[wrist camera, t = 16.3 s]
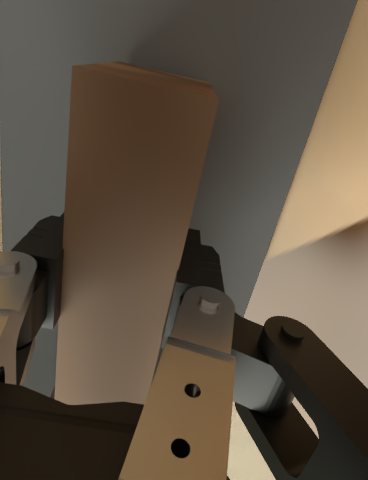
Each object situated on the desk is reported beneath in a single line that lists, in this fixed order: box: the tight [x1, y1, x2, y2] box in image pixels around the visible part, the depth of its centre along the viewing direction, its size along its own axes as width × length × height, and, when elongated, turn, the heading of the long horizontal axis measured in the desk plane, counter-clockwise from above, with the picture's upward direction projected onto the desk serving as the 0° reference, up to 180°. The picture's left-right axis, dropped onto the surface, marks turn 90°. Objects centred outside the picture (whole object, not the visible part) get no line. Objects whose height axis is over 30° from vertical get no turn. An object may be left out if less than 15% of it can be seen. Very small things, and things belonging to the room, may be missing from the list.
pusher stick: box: [50, 61, 219, 405], centre depth 13 cm, size 6×17×5 cm, turn 168°
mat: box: [0, 0, 357, 397], centre depth 16 cm, size 11×25×1 cm, turn 168°
